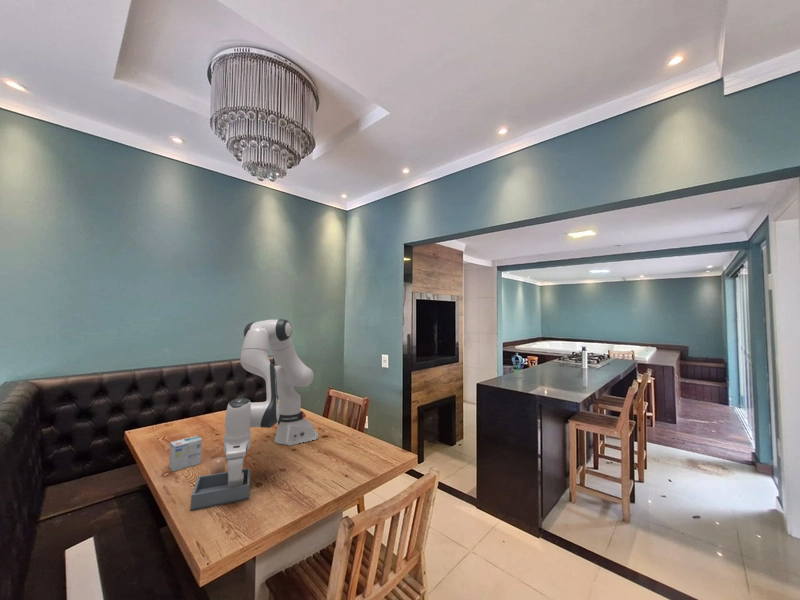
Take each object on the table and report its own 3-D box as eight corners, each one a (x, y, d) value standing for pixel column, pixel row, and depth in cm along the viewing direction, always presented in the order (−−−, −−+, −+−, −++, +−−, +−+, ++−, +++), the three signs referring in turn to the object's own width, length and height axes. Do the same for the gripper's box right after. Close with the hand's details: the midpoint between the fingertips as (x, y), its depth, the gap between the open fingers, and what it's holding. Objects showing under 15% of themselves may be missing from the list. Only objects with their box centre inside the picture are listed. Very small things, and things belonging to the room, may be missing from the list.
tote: (249, 481, 124) (250, 468, 124) (248, 499, 112) (249, 484, 112) (197, 490, 117) (198, 476, 117) (190, 511, 104) (191, 495, 105)
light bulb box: (196, 459, 142) (197, 434, 143) (201, 463, 138) (203, 438, 139) (168, 467, 134) (169, 441, 135) (172, 472, 130) (174, 445, 131)
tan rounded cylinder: (225, 473, 130) (226, 456, 130) (224, 479, 125) (225, 461, 126) (211, 475, 128) (212, 458, 128) (209, 481, 123) (210, 463, 124)
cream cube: (228, 488, 117) (228, 474, 118) (243, 485, 119) (243, 472, 120) (227, 495, 113) (227, 481, 113) (242, 492, 115) (243, 478, 115)
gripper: (229, 435, 125) (228, 471, 124) (225, 456, 107) (223, 498, 106) (247, 433, 128) (245, 468, 127) (245, 453, 109) (243, 494, 108)
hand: (235, 482), depth 116 cm, fingers open, 6 cm apart
